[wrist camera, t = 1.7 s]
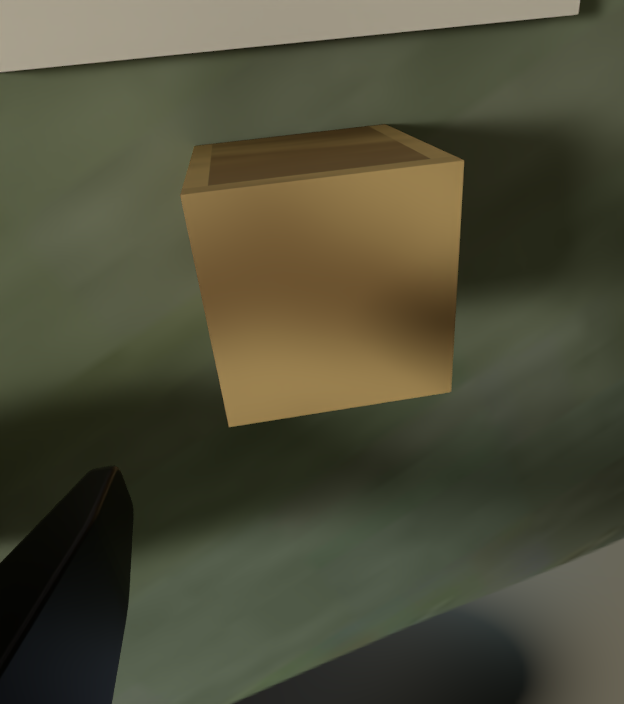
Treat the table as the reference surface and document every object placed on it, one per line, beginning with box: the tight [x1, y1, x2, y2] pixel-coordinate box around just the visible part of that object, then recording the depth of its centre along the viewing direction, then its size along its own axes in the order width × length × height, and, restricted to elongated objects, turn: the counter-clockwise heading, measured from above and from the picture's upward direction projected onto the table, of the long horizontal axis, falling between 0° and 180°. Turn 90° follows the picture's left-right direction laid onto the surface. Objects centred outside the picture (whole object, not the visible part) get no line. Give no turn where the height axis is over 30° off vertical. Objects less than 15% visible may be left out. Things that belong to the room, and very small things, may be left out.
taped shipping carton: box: [180, 124, 464, 427], centre depth 17 cm, size 7×7×7 cm
